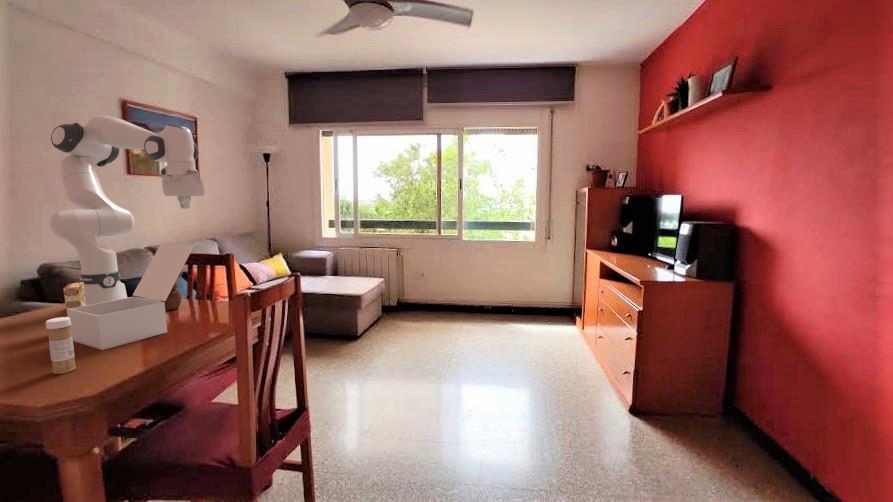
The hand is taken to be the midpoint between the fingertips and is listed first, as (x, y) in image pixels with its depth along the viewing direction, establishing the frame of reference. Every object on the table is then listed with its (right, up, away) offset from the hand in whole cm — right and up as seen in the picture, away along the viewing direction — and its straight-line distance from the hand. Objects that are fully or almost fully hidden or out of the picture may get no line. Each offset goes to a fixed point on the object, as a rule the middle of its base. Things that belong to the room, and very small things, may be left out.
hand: (185, 208), depth 161 cm
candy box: (-23, -42, -19) cm, 51 cm away
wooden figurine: (-10, -38, +8) cm, 40 cm away
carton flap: (+2, -22, -15) cm, 27 cm away
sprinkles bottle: (+1, -46, -52) cm, 69 cm away
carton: (-5, -42, -25) cm, 50 cm away
